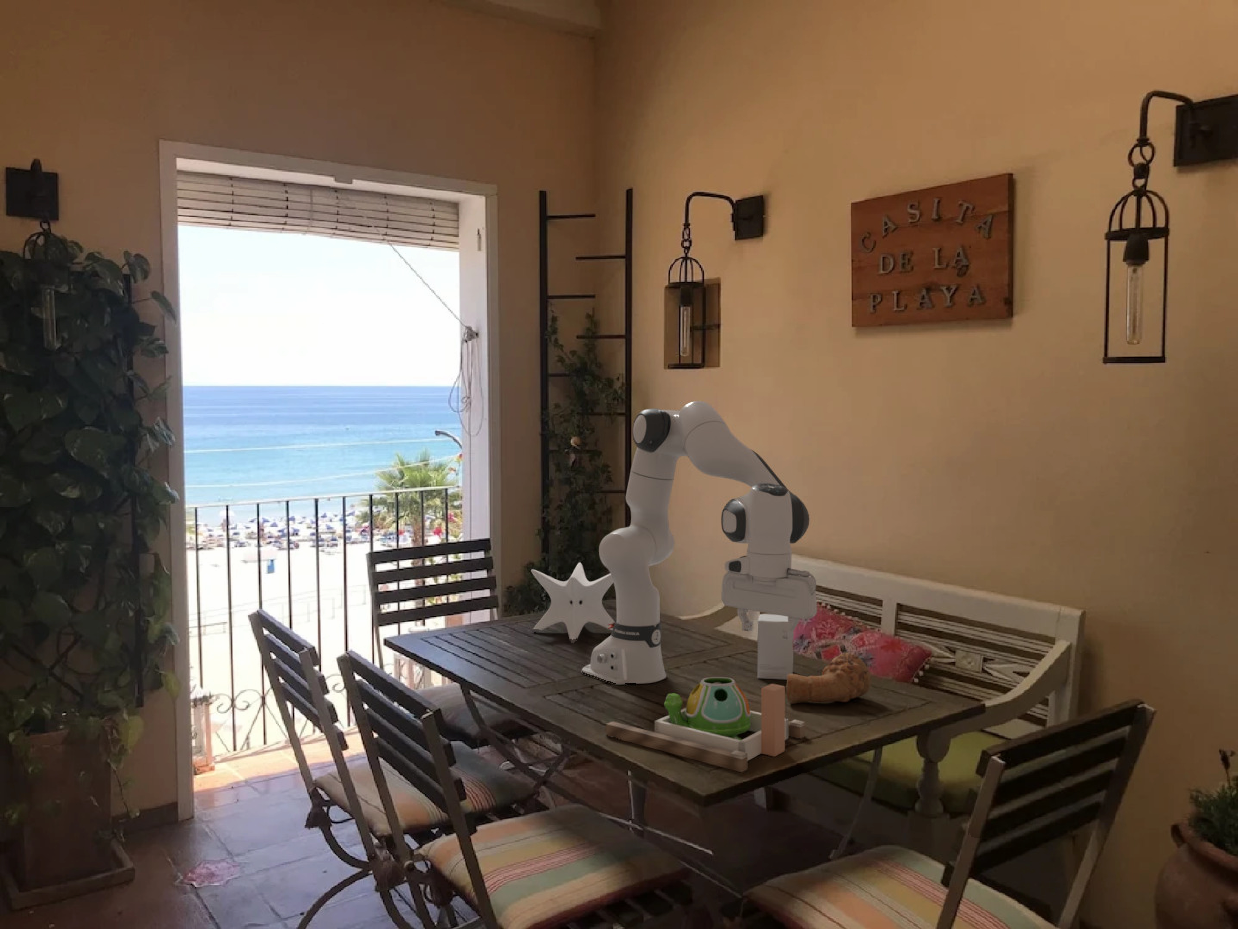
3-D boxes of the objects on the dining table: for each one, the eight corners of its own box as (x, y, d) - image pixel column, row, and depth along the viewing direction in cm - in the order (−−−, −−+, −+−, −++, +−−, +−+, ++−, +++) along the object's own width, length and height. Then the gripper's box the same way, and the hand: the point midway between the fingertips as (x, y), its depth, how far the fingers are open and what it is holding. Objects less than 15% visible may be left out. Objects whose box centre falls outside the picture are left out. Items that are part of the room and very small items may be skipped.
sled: (654, 740, 192) (654, 678, 191) (703, 718, 206) (703, 660, 205) (756, 767, 177) (756, 699, 176) (801, 741, 191) (801, 678, 190)
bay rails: (606, 735, 195) (606, 721, 195) (675, 706, 215) (675, 693, 215) (741, 772, 175) (741, 756, 174) (804, 736, 194) (804, 721, 194)
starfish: (531, 633, 290) (530, 569, 289) (580, 623, 303) (579, 562, 302) (572, 644, 275) (572, 577, 274) (622, 633, 288) (621, 569, 287)
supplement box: (792, 680, 235) (793, 622, 235) (757, 679, 237) (757, 620, 236) (793, 671, 244) (793, 614, 244) (758, 669, 246) (759, 613, 245)
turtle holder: (660, 728, 200) (660, 673, 199) (744, 726, 201) (744, 671, 200) (667, 748, 188) (667, 690, 187) (756, 746, 189) (756, 688, 188)
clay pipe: (868, 727, 211) (872, 689, 224) (869, 687, 207) (873, 651, 221) (785, 717, 217) (793, 680, 230) (784, 677, 213) (792, 643, 226)
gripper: (823, 570, 182) (821, 640, 182) (734, 558, 195) (733, 623, 195) (808, 574, 177) (806, 646, 178) (717, 561, 190) (716, 628, 191)
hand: (767, 634), depth 187 cm, fingers open, 8 cm apart
